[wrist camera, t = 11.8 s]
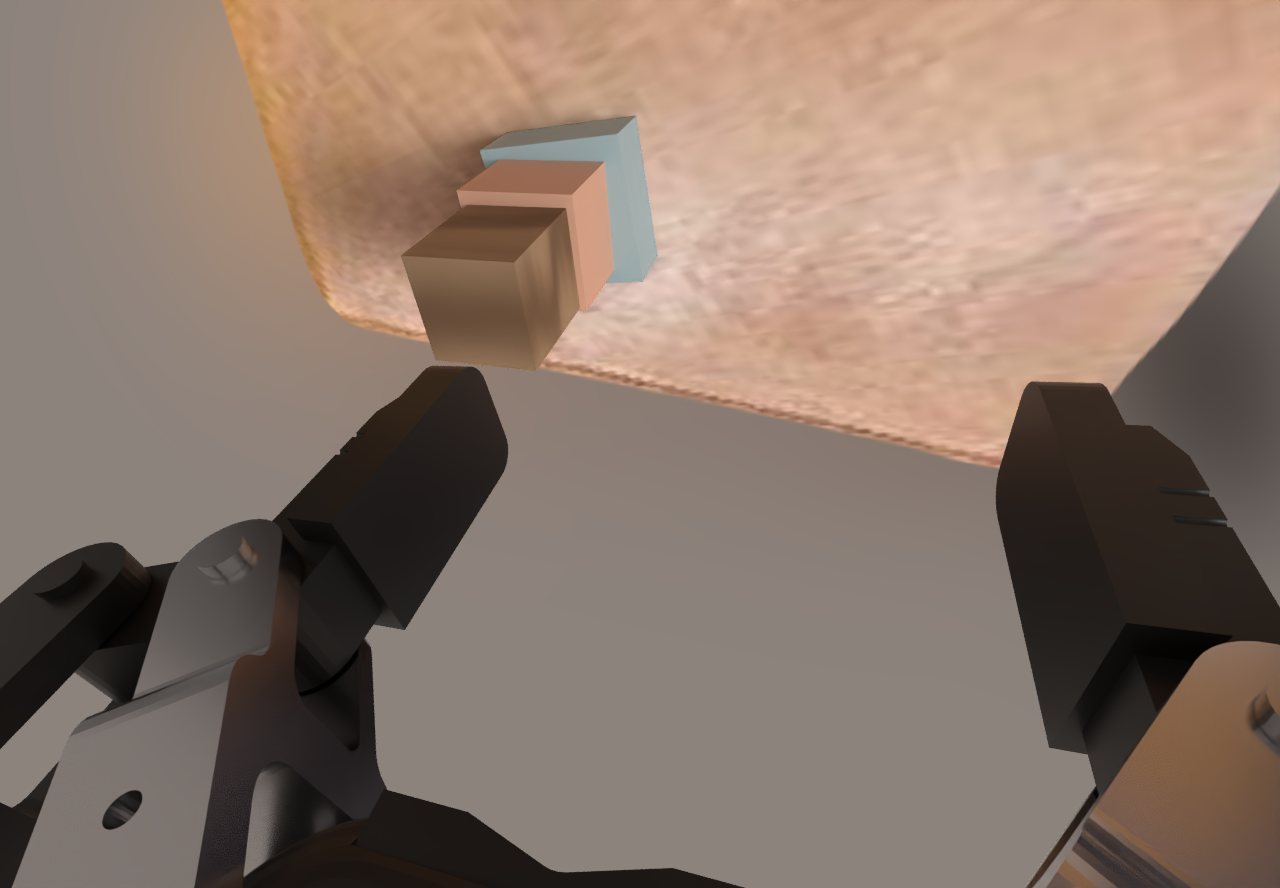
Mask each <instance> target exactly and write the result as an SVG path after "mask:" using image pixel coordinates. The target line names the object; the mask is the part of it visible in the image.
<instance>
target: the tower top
mask: <svg viewBox="0 0 1280 888" xmlns="http://www.w3.org/2000/svg"><path fill="white" fill-rule="evenodd" d="M456 191H457V195H458V199H459V203H460V207H461V209H462V208H464V207H465V206H466V205H492V206H519V207H546V208H566V210H567V217H568V225H569V232H570V239H571V246H572V253H573V261H574V268H575V275H576V282H577V289H578V297H579V304H580V308H579V311H587V310H588V308H589V307H590V305H591V304H592V302H593V301H594V299H595V298H596V296H597V295H598V293H599V292H600V290H601V289H602V287H603V286H604V284H605V283H606V281H607V280H608V278H609V277H610V275H611V274H612V272H613V271H614V262H613V251H612V239H611V228H610V217H609V205H608V194H607V183H606V171H605V162H596V161H554V160H512V159H500V160H498V161H497V162H496V163H494V164H493V165H491V166H490V167H489V168H487V169H486V170H484V171H483V172H482V173H480V174H479V175H477V176H476V177H475V178H473V179H472V180H470V181H469V182H468V183H466V184H465V185H463V186H462V187H461V188H459V189H458V190H456Z"/></svg>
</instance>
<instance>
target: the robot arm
mask: <svg viewBox="0 0 1280 888" xmlns="http://www.w3.org/2000/svg"><path fill="white" fill-rule="evenodd" d="M507 458H508V444H507V439H506V436H505V433H504V430H503V428H502V425H501V422H500V420H499V417H498V414H497V412H496V409H495V406H494V403H493V401H492V398H491V395H490V393H489V390H488V387H487V385H486V382H485V380H484V377H483V375H482V374H481V373H480V371H479V370H477V369H476V368H474V367H460V366H459V367H458V366H456V367H455V366H430V367H428V368H426V369H425V370H424V371H423V372H422V373H421V374H420V375H419V377H418V378H417V379H416V380H415V381H414V382H413V383H412V384H411V385H410V386H409V387H408V388H407V389H406V391H405V392H404V393H403V394H402V395H401V396H400V397H399V398H397V399H395V400H394V401H392V402H391V403H389V404H388V405H386V406H385V407H383V408H382V409H380V410H379V411H377V412H376V413H375V414H374V415H373V416H372V417H371V418H370V419H369V420H368V421H367V422H366V423H365V425H363V426H362V427H361V428H360V430H359V431H358V432H357V436H356V437H352V438H351V439H350V440H349V441H348V442H347V443H346V445H344V446H343V447H342V448H341V449H340V455H335V456H334V457H333V458H332V459H331V460H330V461H329V462H328V463H327V464H326V465H325V466H324V467H323V468H322V469H321V470H320V472H319V473H318V474H317V475H316V476H315V477H314V478H313V479H312V480H311V481H310V482H309V483H308V484H307V485H306V486H305V487H304V488H303V489H302V490H301V492H300V493H299V494H298V495H297V496H296V497H295V498H294V499H293V500H292V501H291V502H290V503H289V504H288V505H287V506H286V507H285V508H284V509H283V511H282V512H281V513H280V514H279V515H278V516H277V517H276V518H275V519H274V520H273V521H270V520H266V519H251V520H247V521H242V522H238V523H235V524H232V525H230V526H227V527H225V528H223V529H221V530H219V531H217V532H215V533H213V534H211V535H210V536H208V537H206V538H205V539H204V540H202V541H201V542H199V543H198V544H197V545H195V546H194V547H193V548H192V549H191V550H190V551H189V552H188V553H187V554H186V555H185V556H184V557H183V558H182V559H181V560H180V561H179V562H174V563H168V564H161V565H156V566H150V567H143V566H142V565H141V564H140V563H139V562H138V561H137V560H136V559H135V558H134V557H133V556H132V555H131V554H130V553H129V552H128V551H126V549H124V547H122V546H121V545H119V544H117V543H112V542H111V543H110V542H109V543H99V544H94V545H90V546H86V547H83V548H81V549H78V550H75V551H73V552H71V553H69V554H66V555H65V556H63V557H61V558H59V559H57V560H55V561H54V562H52V563H50V564H49V565H47V566H46V567H44V568H43V569H41V570H40V571H38V572H37V573H36V574H35V575H33V576H32V577H31V578H30V579H28V580H27V581H26V582H25V583H24V584H23V585H21V586H20V587H19V588H18V589H17V590H16V591H14V592H13V593H12V594H11V595H10V596H8V597H7V598H6V599H5V600H4V601H3V602H1V603H0V749H1V748H2V747H3V746H4V745H5V743H6V742H7V741H8V740H9V739H10V738H11V737H12V736H13V735H14V734H15V733H16V732H17V731H18V730H19V729H20V728H21V727H22V726H23V725H24V724H25V723H26V722H27V721H28V720H29V719H30V718H31V717H32V716H33V714H34V713H35V712H36V711H37V710H38V709H39V708H40V707H41V706H42V705H43V704H44V703H45V702H46V701H47V700H48V699H49V698H50V697H51V696H52V695H53V694H54V693H55V691H57V690H58V689H59V688H60V687H61V685H63V683H64V682H65V681H66V680H67V679H68V678H69V677H70V676H71V675H72V674H73V673H74V672H75V673H76V674H78V675H79V676H80V677H82V678H83V679H85V680H86V681H87V682H89V683H90V684H92V685H93V686H94V687H96V688H97V689H99V690H100V691H101V692H103V693H104V694H105V695H107V696H108V697H110V698H111V699H112V700H113V701H112V702H111V703H110V704H109V705H108V706H107V707H106V709H105V710H104V711H102V712H99V713H96V714H94V715H92V716H90V717H87V718H86V719H85V720H83V721H82V722H81V723H80V724H79V725H78V726H77V727H76V728H75V729H74V731H73V732H72V733H71V735H70V736H69V739H68V741H67V743H66V745H65V747H64V750H63V753H62V756H61V758H60V761H59V762H58V763H57V764H56V765H55V766H54V768H52V770H51V771H50V772H49V773H48V774H47V775H46V777H45V778H44V779H43V780H42V781H41V782H40V783H39V784H38V786H37V787H36V788H35V789H34V790H33V791H32V792H31V793H30V794H29V795H28V796H27V797H26V798H25V799H24V800H23V801H22V802H20V803H19V804H17V805H16V806H14V807H13V808H11V807H8V806H6V805H4V804H2V803H0V888H744V887H740V886H736V885H732V884H729V883H725V882H721V881H718V880H714V879H711V878H707V877H703V876H700V875H696V874H692V873H688V872H685V871H681V870H678V869H674V868H665V869H640V870H616V871H591V872H569V873H565V872H556V871H553V870H550V869H548V868H547V867H545V866H543V865H542V864H540V863H539V862H538V861H536V860H535V859H533V858H532V857H531V856H529V855H528V854H526V853H525V852H523V851H522V850H521V849H519V848H518V847H516V846H515V845H514V844H512V843H511V842H509V841H508V840H507V839H505V838H504V837H502V836H501V835H499V834H498V833H497V832H495V831H494V830H492V829H491V828H490V827H488V826H487V825H485V824H484V823H482V822H481V821H480V820H478V819H477V818H476V817H474V816H473V815H471V814H470V813H468V812H465V811H462V810H458V809H454V808H451V807H447V806H444V805H440V804H436V803H433V802H429V801H425V800H422V799H418V798H414V797H411V796H407V795H403V794H400V793H396V792H392V791H388V790H387V788H386V786H385V784H384V781H383V779H382V777H381V774H380V771H379V767H378V763H377V756H376V735H375V713H374V689H373V668H372V651H371V647H370V644H369V642H368V641H367V640H366V639H365V636H366V635H367V633H368V632H369V630H370V629H371V627H372V626H373V624H375V625H380V626H386V627H392V628H397V629H402V630H405V629H406V627H407V626H408V624H409V622H410V621H411V619H412V618H413V616H414V614H415V613H416V611H417V610H418V608H419V606H420V605H421V603H422V602H423V600H424V598H425V597H426V595H427V594H428V592H429V591H430V589H431V587H432V586H433V584H434V582H435V581H436V579H437V578H438V576H439V575H440V573H441V571H442V570H443V568H444V567H445V565H446V563H447V562H448V560H449V558H450V557H451V555H452V554H453V552H454V551H455V549H456V547H457V546H458V544H459V543H460V541H461V539H462V538H463V536H464V535H465V533H466V532H467V530H468V528H469V527H470V525H471V524H472V522H473V520H474V519H475V517H476V516H477V514H478V512H479V511H480V509H481V508H482V506H483V504H484V503H485V501H486V499H487V498H488V496H489V494H490V493H491V492H492V490H493V488H494V487H495V485H496V484H497V482H498V480H499V479H500V477H501V476H502V474H503V472H504V470H505V467H506V464H507ZM1209 491H1210V490H1209V488H1208V486H1207V485H1206V483H1205V481H1204V480H1203V478H1202V476H1201V475H1200V473H1199V471H1198V470H1197V468H1196V466H1195V465H1194V463H1193V461H1192V460H1191V458H1190V456H1189V455H1187V454H1186V453H1185V452H1184V451H1182V450H1181V449H1180V448H1179V447H1177V446H1176V445H1175V444H1173V443H1172V442H1171V441H1170V440H1168V439H1167V438H1166V437H1164V436H1163V435H1162V434H1160V433H1159V432H1158V431H1157V430H1155V429H1154V428H1153V427H1151V426H1138V425H1125V423H1124V421H1123V419H1122V417H1121V415H1120V413H1119V411H1118V409H1117V407H1116V405H1115V403H1114V401H1113V399H1112V397H1111V395H1110V393H1109V391H1108V390H1107V388H1106V387H1105V386H1104V385H1103V384H1101V383H1072V382H1030V383H1029V384H1028V385H1027V386H1026V388H1025V389H1024V392H1023V394H1022V397H1021V400H1020V403H1019V407H1018V410H1017V413H1016V416H1015V420H1014V423H1013V426H1012V429H1011V433H1010V436H1009V439H1008V443H1007V446H1006V449H1005V452H1004V456H1003V459H1002V462H1001V465H1000V469H999V473H998V478H997V485H996V510H997V517H998V522H999V526H1000V531H1001V535H1002V539H1003V544H1004V548H1005V553H1006V557H1007V562H1008V566H1009V571H1010V575H1011V580H1012V584H1013V588H1014V593H1015V597H1016V602H1017V606H1018V611H1019V615H1020V619H1021V624H1022V629H1023V633H1024V637H1025V642H1026V646H1027V651H1028V655H1029V660H1030V664H1031V668H1032V673H1033V678H1034V682H1035V686H1036V691H1037V695H1038V700H1039V704H1040V709H1041V713H1042V718H1043V722H1044V727H1045V731H1046V735H1047V740H1048V744H1049V747H1050V748H1055V749H1061V750H1066V751H1071V752H1077V753H1083V754H1088V757H1089V760H1090V764H1091V768H1092V771H1093V775H1094V779H1095V783H1096V786H1095V788H1094V789H1093V790H1092V791H1091V793H1090V794H1089V795H1088V797H1087V798H1086V800H1085V801H1084V802H1083V804H1082V805H1081V807H1080V808H1079V810H1078V811H1077V813H1076V814H1075V815H1074V817H1073V818H1072V820H1071V821H1070V823H1069V824H1068V825H1067V827H1066V828H1065V830H1064V831H1063V833H1062V834H1061V835H1060V837H1059V838H1058V840H1057V841H1056V843H1055V844H1054V845H1053V847H1052V849H1051V850H1050V851H1049V853H1048V854H1047V855H1046V857H1045V858H1044V860H1043V861H1042V863H1041V864H1040V865H1039V867H1038V868H1037V870H1036V871H1035V873H1034V874H1033V876H1032V877H1031V878H1030V880H1029V881H1028V883H1027V884H1026V886H1025V887H1024V888H1280V607H1279V605H1278V604H1277V602H1276V600H1275V599H1274V597H1273V595H1272V594H1271V592H1270V590H1269V588H1268V587H1267V585H1266V583H1265V582H1264V580H1263V578H1262V577H1261V575H1260V573H1259V572H1258V570H1257V568H1256V567H1255V565H1254V564H1253V562H1252V560H1251V558H1250V557H1249V555H1248V553H1247V552H1246V550H1245V548H1244V547H1243V545H1242V543H1241V542H1240V540H1239V539H1238V537H1237V535H1236V533H1235V532H1234V530H1233V528H1230V527H1227V524H1226V523H1227V518H1226V516H1225V515H1224V513H1223V512H1222V510H1221V508H1220V506H1219V505H1218V503H1217V501H1216V500H1215V498H1214V497H1209Z"/></svg>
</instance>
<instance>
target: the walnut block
mask: <svg viewBox="0 0 1280 888" xmlns="http://www.w3.org/2000/svg"><path fill="white" fill-rule="evenodd" d="M401 257H402V260H403V263H404V266H405V269H406V272H407V275H408V278H409V281H410V284H411V287H412V290H413V293H414V296H415V299H416V302H417V305H418V308H419V311H420V314H421V317H422V320H423V323H424V326H425V329H426V332H427V335H428V338H429V341H430V344H431V347H432V350H433V353H434V356H435V359H436V360H440V361H449V362H458V363H468V364H477V365H486V366H496V367H505V368H514V369H524V370H533V371H537V369H538V368H539V366H540V365H541V363H542V362H543V361H544V359H545V358H546V356H547V355H548V353H549V352H550V350H551V349H552V348H553V346H554V345H555V343H556V342H557V340H558V339H559V337H560V336H561V335H562V333H563V332H564V330H565V329H566V327H567V326H568V324H569V323H570V321H571V320H572V319H573V317H574V316H575V314H576V313H577V311H578V310H579V308H580V304H579V297H578V289H577V282H576V275H575V268H574V261H573V253H572V246H571V239H570V232H569V225H568V217H567V210H566V208H546V207H519V206H492V205H466V206H465V207H464V208H462V209H461V210H460V211H458V212H457V213H456V214H455V215H453V216H452V217H451V218H449V219H448V220H447V221H445V222H444V223H443V224H442V225H440V226H439V227H438V228H436V229H435V230H434V231H432V232H431V233H430V234H429V235H427V236H426V237H425V238H423V239H422V240H421V241H419V242H418V243H417V244H416V245H414V246H413V247H412V248H410V249H409V250H408V251H406V252H405V253H404V254H403V255H401Z"/></svg>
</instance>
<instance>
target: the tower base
mask: <svg viewBox="0 0 1280 888" xmlns="http://www.w3.org/2000/svg"><path fill="white" fill-rule="evenodd" d="M480 154H481V157H482V160H483V163H484V167H485V170H486V169H487V168H489V167H490V166H491V165H493V164H494V163H496V162H497V161H498V160H500V159H512V160H554V161H596V162H605V171H606V183H607V194H608V205H609V217H610V228H611V239H612V251H613V262H614V271H613V272H612V274H611V275H610V277H609V278H608V280H607V281H606V283H618V282H643V280H644V279H645V277H646V275H647V273H648V272H649V270H650V268H651V266H652V265H653V263H654V261H655V259H656V258H657V256H658V255H657V248H656V242H655V235H654V229H653V222H652V216H651V209H650V203H649V196H648V189H647V183H646V176H645V170H644V163H643V157H642V150H641V144H640V137H639V131H638V124H637V117H636V116H632V117H624V118H616V119H608V120H600V121H593V122H585V123H577V124H569V125H561V126H553V127H546V128H538V129H530V130H522V131H514V132H507V133H506V134H504V135H503V136H501V137H500V138H498V139H496V140H495V141H493V142H492V143H490V144H489V145H487V146H486V147H484V148H483V149H481V150H480Z"/></svg>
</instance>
